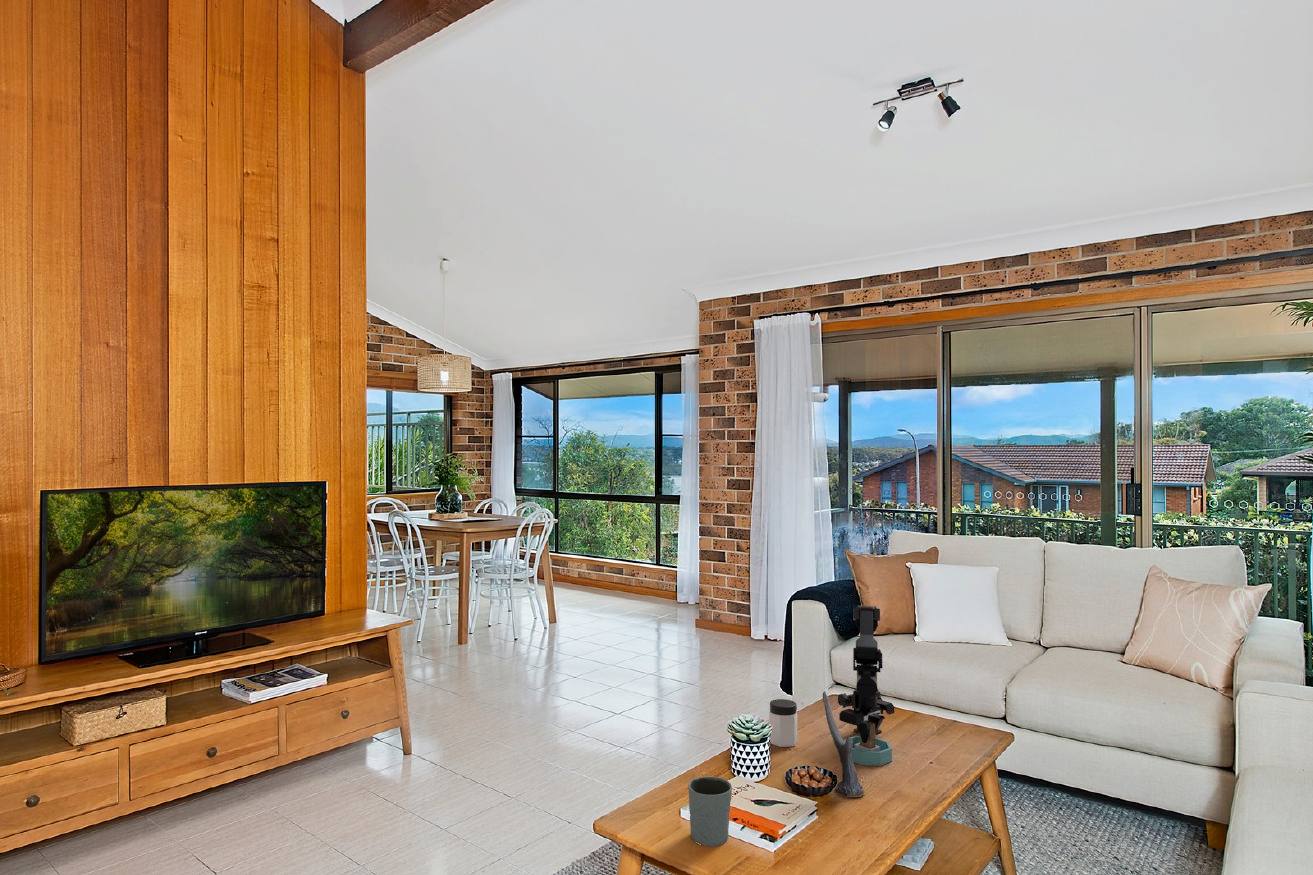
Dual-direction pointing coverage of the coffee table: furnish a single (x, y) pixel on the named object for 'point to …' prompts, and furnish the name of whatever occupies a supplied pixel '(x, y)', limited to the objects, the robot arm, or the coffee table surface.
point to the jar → (783, 722)
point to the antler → (843, 758)
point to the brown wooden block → (870, 738)
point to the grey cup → (709, 810)
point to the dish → (871, 752)
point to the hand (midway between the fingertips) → (867, 741)
